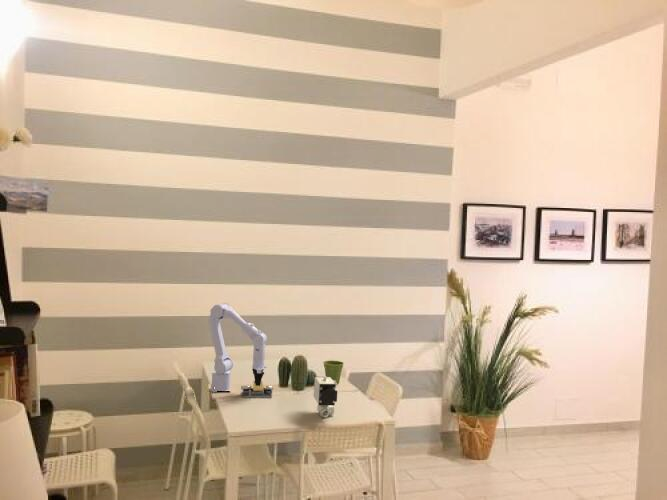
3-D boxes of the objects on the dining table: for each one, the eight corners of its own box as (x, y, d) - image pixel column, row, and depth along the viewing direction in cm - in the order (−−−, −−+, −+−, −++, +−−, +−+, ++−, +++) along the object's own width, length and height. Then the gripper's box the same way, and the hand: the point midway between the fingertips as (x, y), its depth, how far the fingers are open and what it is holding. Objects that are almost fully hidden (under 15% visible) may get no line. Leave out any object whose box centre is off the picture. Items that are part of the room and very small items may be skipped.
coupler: (253, 393, 301) (253, 382, 301) (252, 391, 305) (253, 379, 304) (262, 393, 302) (262, 382, 301) (261, 391, 305) (262, 380, 305)
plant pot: (343, 380, 341) (345, 361, 341) (342, 386, 329) (343, 365, 329) (323, 379, 342) (324, 359, 342) (320, 384, 330) (321, 364, 330)
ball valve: (337, 421, 269) (339, 381, 268) (318, 421, 267) (321, 381, 267) (329, 409, 287) (331, 371, 286) (312, 409, 285) (314, 371, 284)
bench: (241, 397, 297) (241, 388, 297) (240, 392, 307) (240, 383, 306) (273, 397, 300) (274, 388, 300) (272, 392, 310) (272, 383, 309)
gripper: (267, 360, 296) (266, 388, 297) (265, 354, 310) (264, 380, 311) (253, 360, 295) (252, 388, 295) (252, 354, 309) (250, 380, 309)
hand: (257, 384), depth 303 cm, fingers closed on coupler, 4 cm apart
